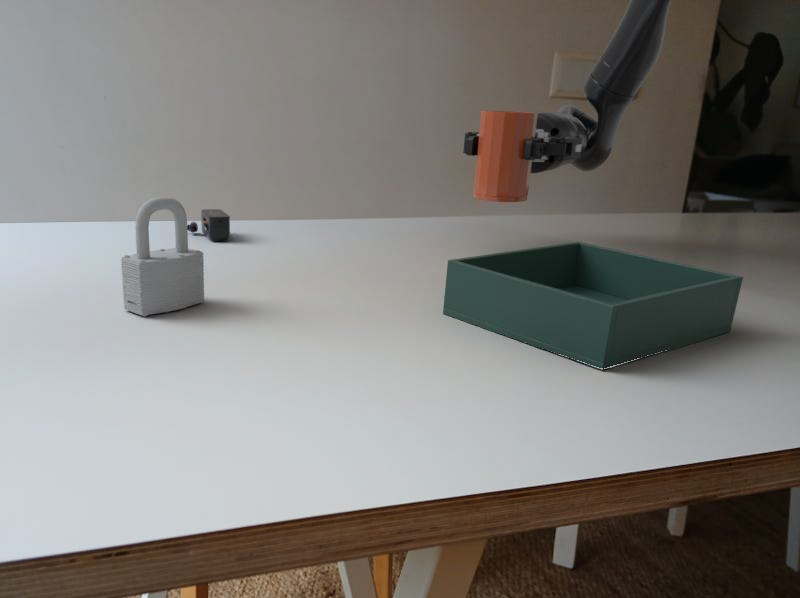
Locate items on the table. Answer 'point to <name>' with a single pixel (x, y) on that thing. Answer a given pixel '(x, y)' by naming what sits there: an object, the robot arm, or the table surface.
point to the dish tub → (591, 300)
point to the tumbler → (503, 156)
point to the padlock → (162, 266)
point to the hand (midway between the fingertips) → (498, 148)
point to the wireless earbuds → (213, 225)
